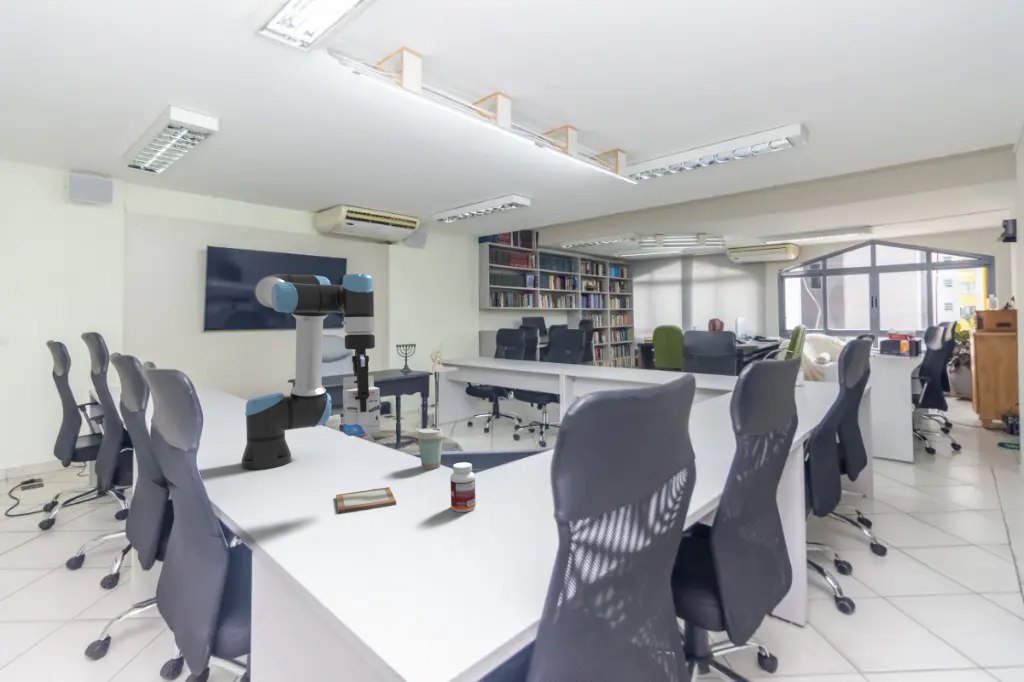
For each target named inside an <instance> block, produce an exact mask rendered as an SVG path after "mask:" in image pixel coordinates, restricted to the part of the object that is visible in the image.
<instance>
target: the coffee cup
mask: <svg viewBox="0 0 1024 682" xmlns="http://www.w3.org/2000/svg"><path fill="white" fill-rule="evenodd" d="M443 437H444V433H443V429H442V428H440V427H426V428H421V429H419V430H418V431H417V435H416V438H417V440H418V448H419V455H420V462H421V468H422V469H423V470H424V469H425V470H434V469H439V468H440V467H441V459H442V447H443V446H442V445H443Z"/></svg>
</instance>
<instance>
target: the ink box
mask: <svg viewBox="0 0 1024 682" xmlns="http://www.w3.org/2000/svg"><path fill="white" fill-rule="evenodd" d="M354 381H357V377H354V376H345V377H343V378H342V382H343V384H342V387H343V389H342V410H343V411H342V413H343V414H342V417H343V420H342V421H343V423H342V424H343V434H344V435H346V436H347V437H352V436H360V435H367V434H375V433H376V434H377V433H381V403H380V402H381V401H380V400H381V398H380V396H381V395H380V394H381V393H380V387H377V386H374V385H375V384H374V383H375V377H374V375H368V384H369V397H368V406H369V424H364V425H358V416H357V400H355V397H357V396H358V391H357V383H354Z"/></svg>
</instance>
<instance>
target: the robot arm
mask: <svg viewBox="0 0 1024 682" xmlns="http://www.w3.org/2000/svg"><path fill="white" fill-rule="evenodd" d="M374 287H375V286H374V280H373V276H371V275H370V274H365V273H348V274H344V275H343V277H342V284H331V281H330V280H329V278H327V277H326V276H322V275H314V274H312V275H311V274H283V273H280V274H279V273H277V274H272V275H267V276H265V277H262V278H261V279H259V280H258V281H257V283H256V284H255V287H254V289H253V291H254V296H255V299H256V300H257V302H258V303H259V304H260V305H262V306H264V307H267V308H272V309H273V310H274V312H277V313H284V314H285V313H287V314H290V313H291V315H292V317H293V318H294V319H295V326H296V327H295V379H294V380H295V382H294V383H295V384H294V387H292V389H290V395H288V396H285V395H284V393H283V392H275V393H267V394H262V395H258V396H255V397H252V398H250V399H248V400H247V401H246V404H245V413H244V415H245V421H246V422H245V424H246V425H245V426H246V444H245V445H246V446H245V448H244V452H243V455H242V457H241V468H242V469H246V470H265V469H272V468H278V467H281V466H284V465H287V464H289V463H290V462H291V461H292V453H291V450H290V448H289V445H288V442H287V439H286V431H290V430H298V429H305V428H315V427H319V426H322V425H325V424H326V423H328V421H329V418H330V416H331V412H332V397H331V395H330V393H328V392H327V389H326V388H325V387H324V386H323V385H322V382H323V381H322V379H323V378H322V377H323V376H322V375H323V368H322V367H323V342H324V341H323V339H324V338H323V336H324V335H323V334H324V332H323V331H324V320H325V319H326V318H327V317H328V316H329V313H338V314H343V318H344V319H343V321H341V325H343V326H344V333H346V334H345V336H344V348H345V349H346V350H354V355H352V356H351V363H352V370H353V377H357V381H354V382H353V383H357V391H358V396H357V397H355V400H357V416H358V425H364V424H369V406H368V397H369V384H368V376H369V362H370V356H369V355H367V351H366V350H368V349H369V350H372V349H374V348H375V346H376V340H375V339H376V337H375V335H374V334H373V333H374V332H375V330H376V327H375V310H374V309H375V306H374V305H375V304H374V303H375V302H374V301H375V300H374V297H375V294H374V292H375V288H374Z"/></svg>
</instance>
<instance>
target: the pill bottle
mask: <svg viewBox="0 0 1024 682" xmlns="http://www.w3.org/2000/svg"><path fill="white" fill-rule="evenodd" d="M452 472H453V473H451V475H450V506H451V509H452V510H453V511H454V512H456V513H466V512H467V513H468V512H471V511H473V510H474V509H476V506H477V505H476V504H477V503H476V501H477V499H476V476H475V473H474V472H473V464H472V463H470V462H457V463H454V464H453V465H452Z"/></svg>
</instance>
